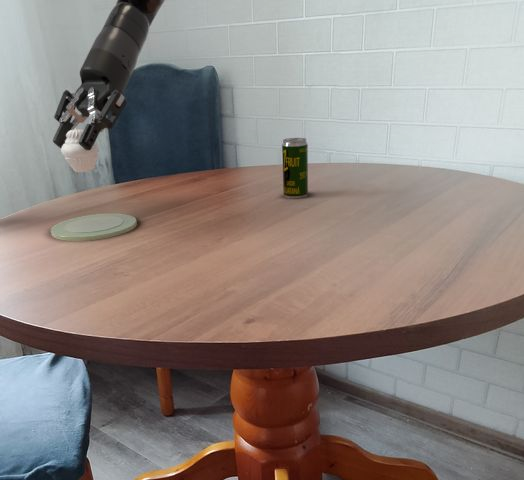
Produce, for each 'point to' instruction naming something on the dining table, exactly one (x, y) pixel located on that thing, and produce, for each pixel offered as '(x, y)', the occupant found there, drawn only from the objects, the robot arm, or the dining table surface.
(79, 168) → the muffin
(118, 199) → the dining table surface
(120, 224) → the plate
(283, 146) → the green drink can
